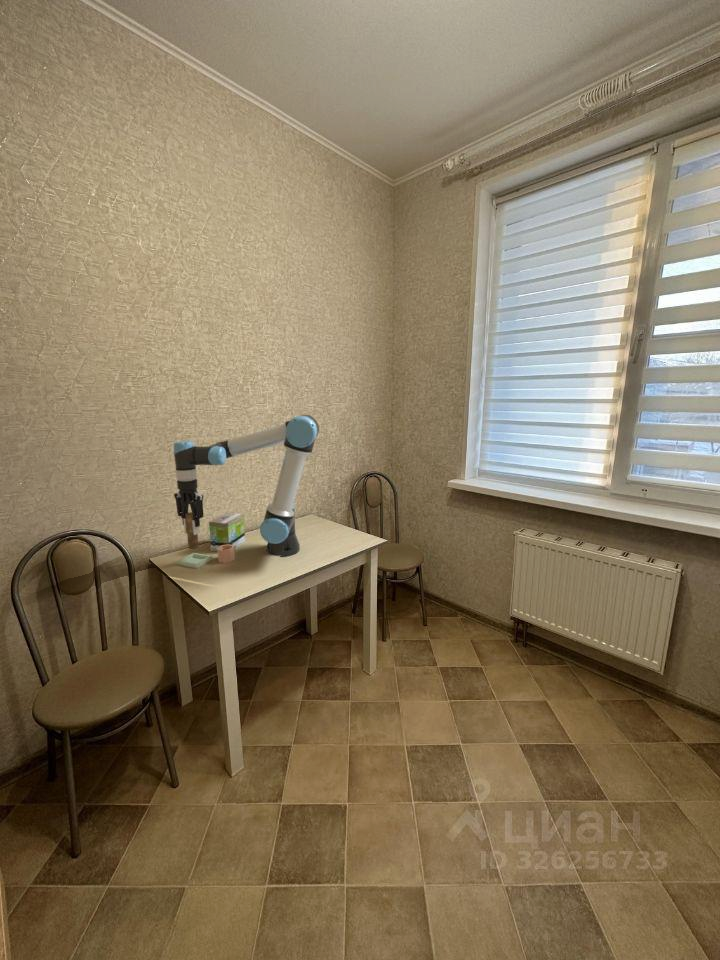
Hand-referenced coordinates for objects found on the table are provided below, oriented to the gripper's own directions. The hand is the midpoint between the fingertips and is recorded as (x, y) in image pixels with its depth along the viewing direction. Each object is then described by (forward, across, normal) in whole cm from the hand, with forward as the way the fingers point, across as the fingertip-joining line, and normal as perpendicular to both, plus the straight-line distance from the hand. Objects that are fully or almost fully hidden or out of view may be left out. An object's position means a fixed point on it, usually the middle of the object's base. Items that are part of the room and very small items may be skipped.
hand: (192, 533), depth 161 cm
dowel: (+6, 0, 0) cm, 6 cm away
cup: (+14, -11, -7) cm, 19 cm away
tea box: (+14, -1, -21) cm, 25 cm away
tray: (+14, 0, 0) cm, 14 cm away
